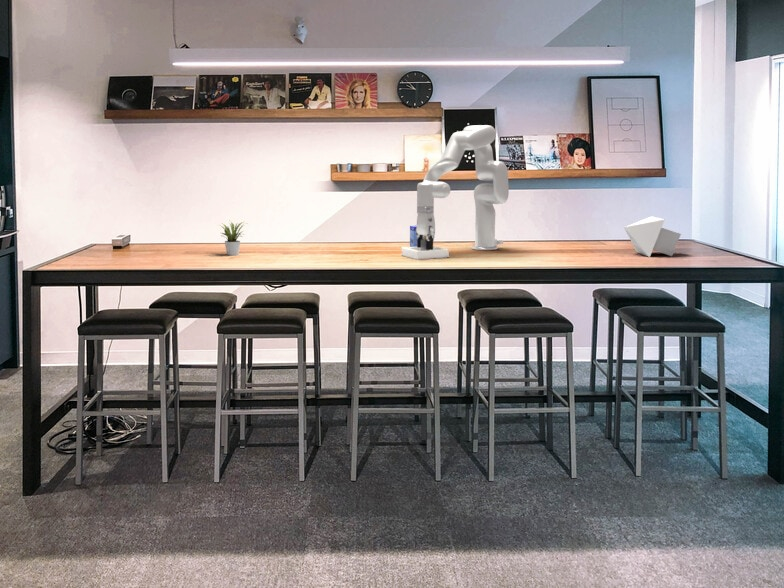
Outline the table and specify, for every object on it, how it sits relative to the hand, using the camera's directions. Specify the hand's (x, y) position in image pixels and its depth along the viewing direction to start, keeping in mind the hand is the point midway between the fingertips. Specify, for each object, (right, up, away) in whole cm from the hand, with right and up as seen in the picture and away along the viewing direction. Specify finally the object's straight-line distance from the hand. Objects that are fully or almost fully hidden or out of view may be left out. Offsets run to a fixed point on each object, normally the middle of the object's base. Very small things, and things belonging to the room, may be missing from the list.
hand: (425, 248), depth 365 cm
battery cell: (0, -3, +1) cm, 3 cm away
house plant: (-88, -3, +8) cm, 88 cm away
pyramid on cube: (+103, -3, +6) cm, 104 cm away
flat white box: (0, -4, +1) cm, 4 cm away
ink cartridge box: (-1, 0, +20) cm, 20 cm away
